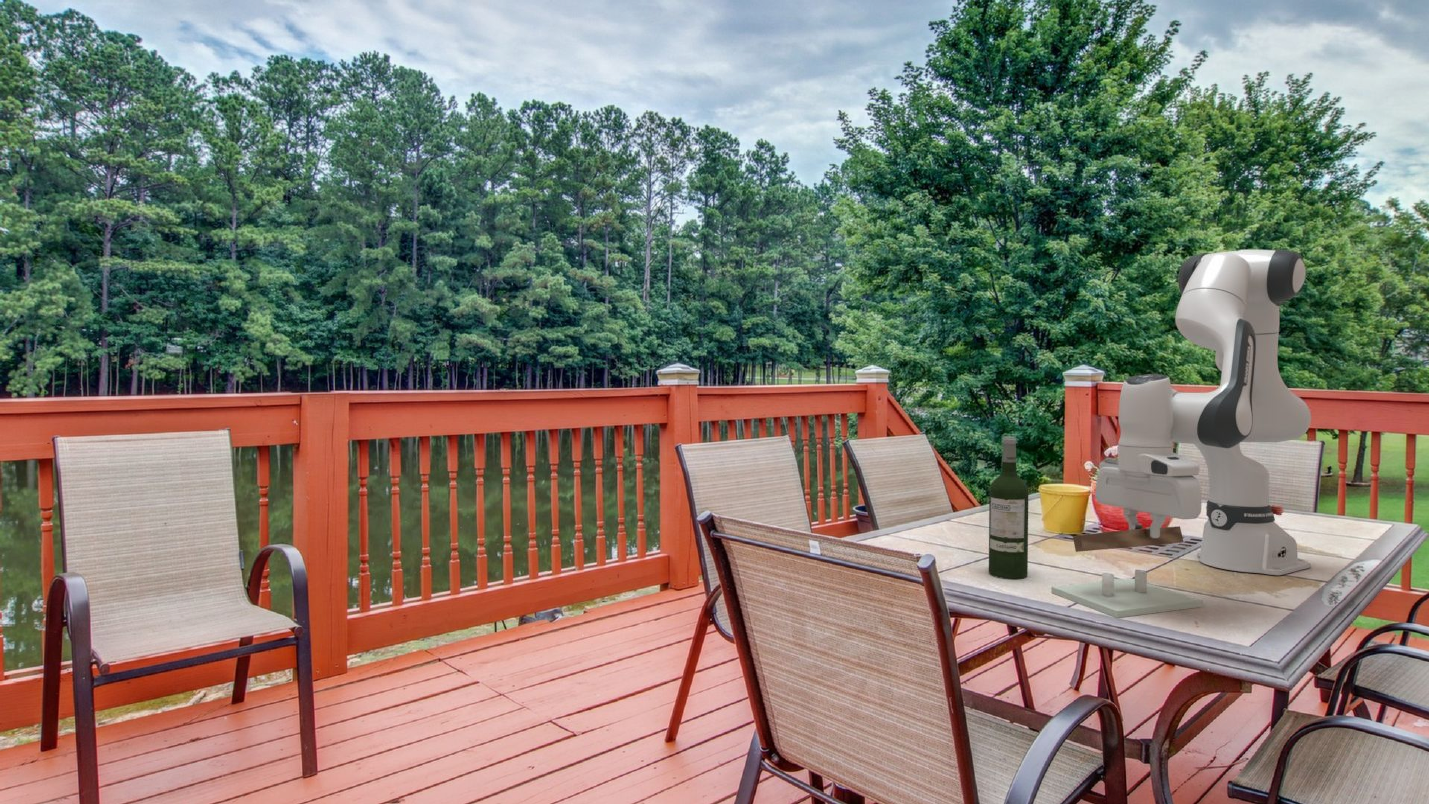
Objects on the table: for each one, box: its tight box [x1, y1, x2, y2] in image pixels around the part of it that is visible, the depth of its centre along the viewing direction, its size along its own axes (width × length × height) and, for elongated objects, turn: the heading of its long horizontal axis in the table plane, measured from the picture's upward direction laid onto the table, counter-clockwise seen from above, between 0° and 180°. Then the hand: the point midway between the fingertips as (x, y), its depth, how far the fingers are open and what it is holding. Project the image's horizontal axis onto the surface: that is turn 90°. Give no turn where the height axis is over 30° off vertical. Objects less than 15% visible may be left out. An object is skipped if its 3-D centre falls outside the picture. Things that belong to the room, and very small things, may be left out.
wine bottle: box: [988, 436, 1029, 580], centre depth 160 cm, size 8×8×30 cm
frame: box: [1072, 526, 1184, 553], centre depth 141 cm, size 16×10×3 cm, turn 108°
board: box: [1051, 569, 1203, 619], centre depth 143 cm, size 20×16×5 cm
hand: (1144, 535), depth 138 cm, fingers closed on frame, 2 cm apart
